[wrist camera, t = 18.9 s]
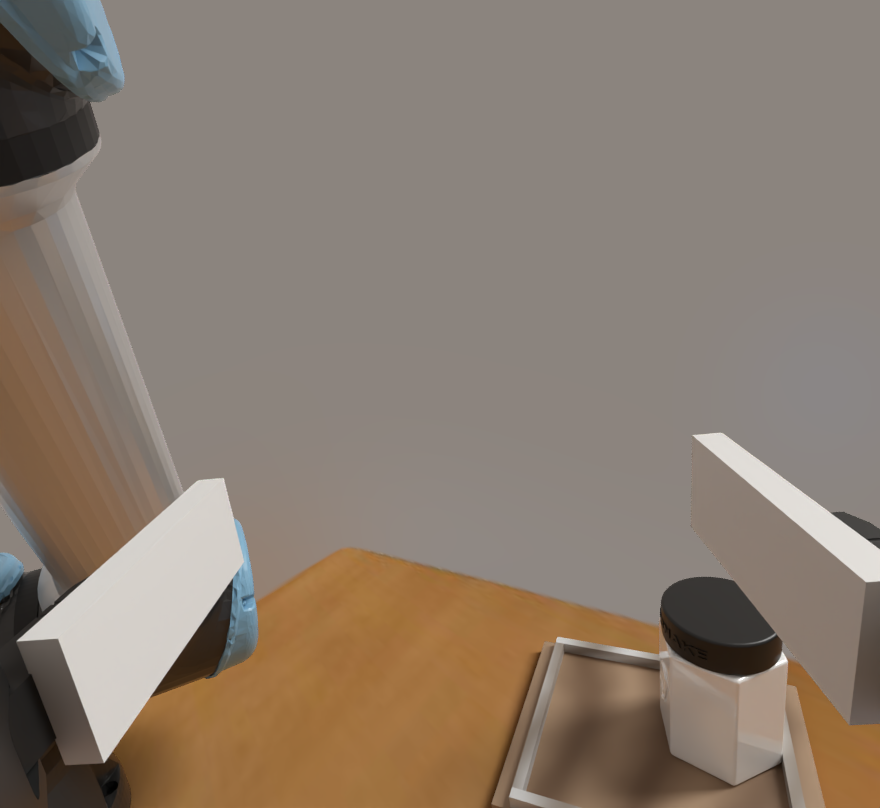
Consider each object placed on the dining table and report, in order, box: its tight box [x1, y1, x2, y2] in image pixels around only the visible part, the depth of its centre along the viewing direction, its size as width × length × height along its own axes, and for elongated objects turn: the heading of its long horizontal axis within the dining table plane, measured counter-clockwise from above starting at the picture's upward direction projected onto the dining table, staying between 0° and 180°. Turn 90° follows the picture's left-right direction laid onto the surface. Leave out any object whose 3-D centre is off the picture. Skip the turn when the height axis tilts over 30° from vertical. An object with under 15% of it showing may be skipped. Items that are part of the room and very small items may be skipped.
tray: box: [491, 637, 825, 808], centre depth 44 cm, size 22×18×2 cm
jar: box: [659, 577, 788, 786], centre depth 42 cm, size 9×8×12 cm
